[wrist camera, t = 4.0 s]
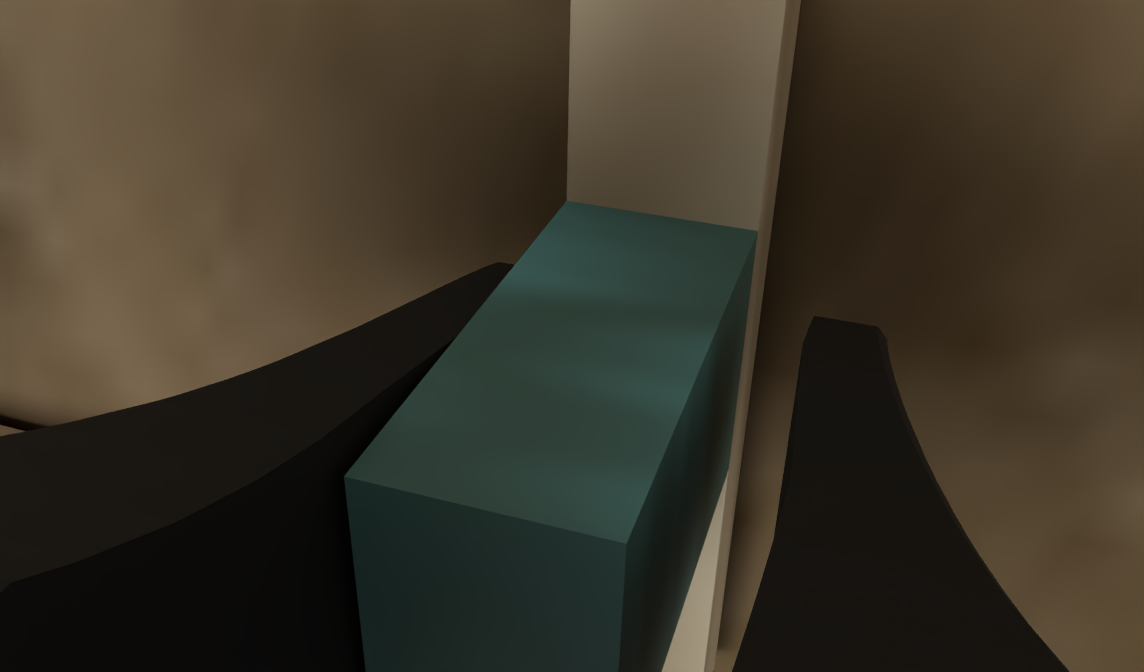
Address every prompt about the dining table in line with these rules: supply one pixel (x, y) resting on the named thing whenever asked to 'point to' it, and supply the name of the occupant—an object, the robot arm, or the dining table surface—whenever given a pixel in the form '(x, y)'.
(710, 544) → the teal-tipped beige rail
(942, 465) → the dining table surface
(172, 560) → the robot arm
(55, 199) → the dining table surface
